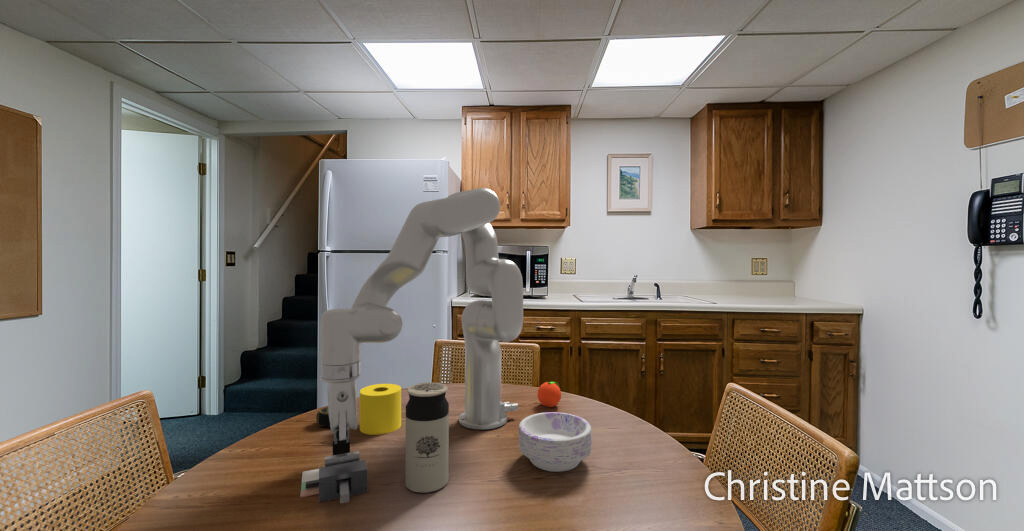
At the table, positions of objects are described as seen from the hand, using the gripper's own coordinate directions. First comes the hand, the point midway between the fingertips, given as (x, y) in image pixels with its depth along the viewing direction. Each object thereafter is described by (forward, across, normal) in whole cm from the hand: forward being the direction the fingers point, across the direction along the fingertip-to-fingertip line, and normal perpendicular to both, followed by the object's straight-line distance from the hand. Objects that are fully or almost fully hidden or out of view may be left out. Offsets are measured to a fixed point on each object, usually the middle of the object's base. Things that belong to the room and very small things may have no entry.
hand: (341, 460), depth 85 cm
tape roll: (+2, +19, -10) cm, 21 cm away
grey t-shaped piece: (+1, -11, +2) cm, 11 cm away
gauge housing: (+1, -10, 0) cm, 10 cm away
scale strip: (+1, -4, +5) cm, 7 cm away
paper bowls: (+2, -16, -41) cm, 44 cm away
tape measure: (+2, +26, 0) cm, 26 cm away
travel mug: (+2, -13, -14) cm, 19 cm away
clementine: (+2, +14, -57) cm, 59 cm away
